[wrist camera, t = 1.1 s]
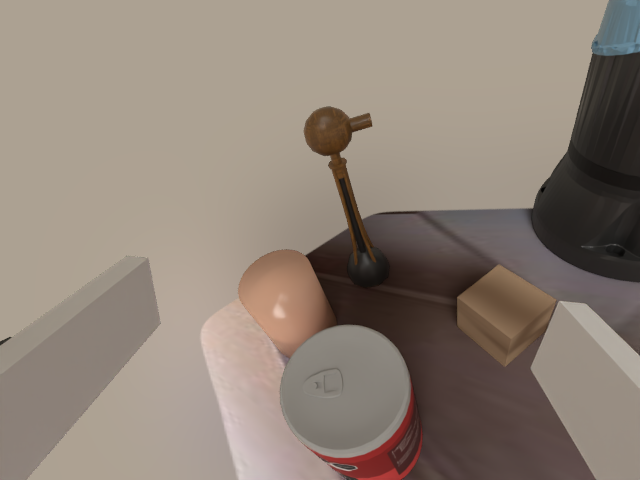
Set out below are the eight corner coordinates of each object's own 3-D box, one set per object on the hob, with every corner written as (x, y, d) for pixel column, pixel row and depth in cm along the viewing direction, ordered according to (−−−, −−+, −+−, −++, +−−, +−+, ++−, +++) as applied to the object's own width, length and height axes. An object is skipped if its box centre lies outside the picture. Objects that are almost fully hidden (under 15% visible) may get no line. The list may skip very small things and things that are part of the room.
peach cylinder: (331, 294, 38) (307, 241, 32) (342, 349, 33) (316, 299, 27) (274, 310, 39) (239, 261, 33) (276, 367, 34) (236, 322, 28)
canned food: (315, 407, 30) (267, 353, 22) (395, 370, 30) (375, 304, 23) (344, 510, 24) (295, 483, 17) (443, 464, 25) (437, 416, 17)
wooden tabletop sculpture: (393, 249, 40) (361, 83, 26) (403, 279, 37) (371, 107, 23) (346, 261, 41) (291, 106, 27) (351, 291, 38) (291, 132, 24)
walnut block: (494, 296, 32) (499, 264, 29) (544, 331, 29) (556, 299, 26) (457, 326, 31) (457, 297, 28) (504, 367, 28) (511, 339, 25)
